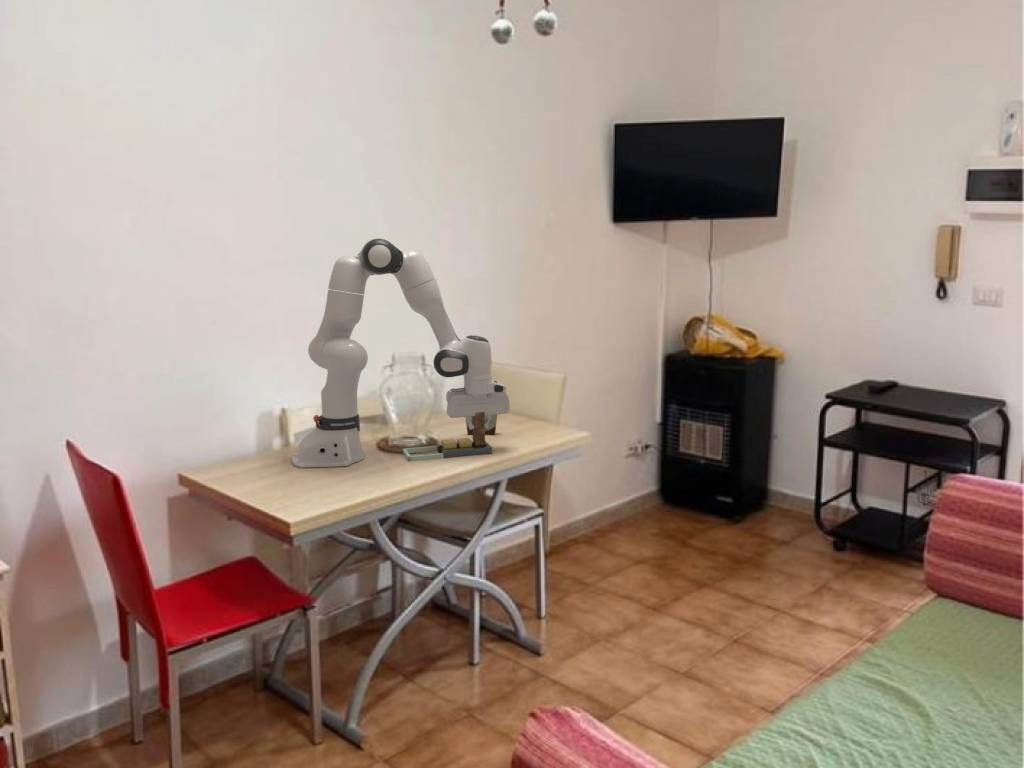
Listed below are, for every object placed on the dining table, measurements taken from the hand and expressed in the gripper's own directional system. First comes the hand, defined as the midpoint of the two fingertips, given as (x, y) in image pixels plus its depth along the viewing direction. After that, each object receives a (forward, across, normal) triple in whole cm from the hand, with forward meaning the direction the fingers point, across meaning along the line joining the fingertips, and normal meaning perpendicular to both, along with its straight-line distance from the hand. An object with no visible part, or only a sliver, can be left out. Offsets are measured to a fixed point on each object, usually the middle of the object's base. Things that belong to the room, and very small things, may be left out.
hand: (478, 428), depth 298 cm
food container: (+8, +7, +22) cm, 24 cm away
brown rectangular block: (+5, 0, 0) cm, 5 cm away
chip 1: (+7, -10, 0) cm, 12 cm away
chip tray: (+8, -18, 0) cm, 20 cm away
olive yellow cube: (+7, -5, 0) cm, 9 cm away
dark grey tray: (+8, -5, 0) cm, 9 cm away
